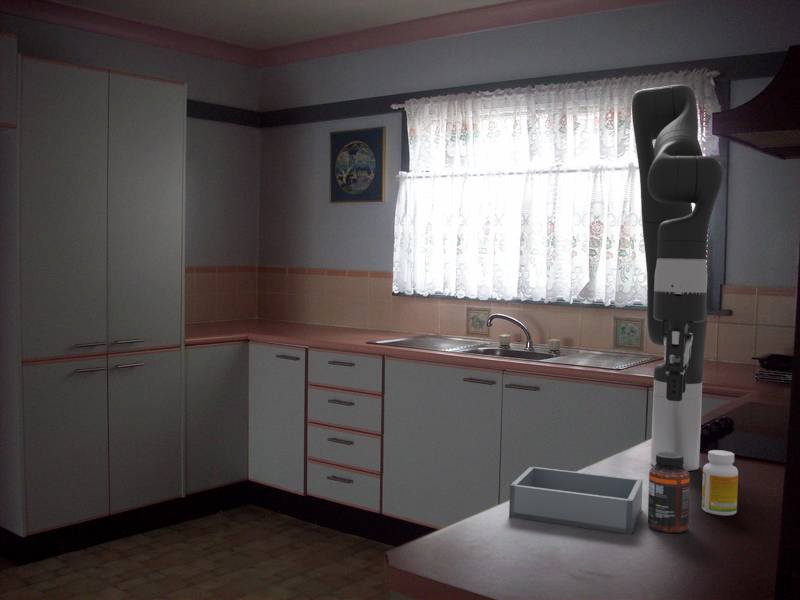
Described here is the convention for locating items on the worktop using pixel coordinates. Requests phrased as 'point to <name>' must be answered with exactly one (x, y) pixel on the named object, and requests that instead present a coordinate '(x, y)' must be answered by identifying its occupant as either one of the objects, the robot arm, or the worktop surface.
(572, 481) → the tote
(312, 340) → the worktop surface
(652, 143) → the robot arm
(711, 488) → the supplement bottle
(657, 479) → the supplement bottle
